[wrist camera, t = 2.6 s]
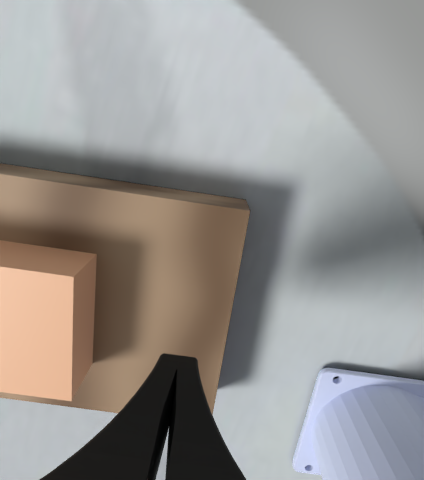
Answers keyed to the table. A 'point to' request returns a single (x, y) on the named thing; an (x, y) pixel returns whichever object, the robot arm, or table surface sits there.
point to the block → (45, 319)
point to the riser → (135, 271)
